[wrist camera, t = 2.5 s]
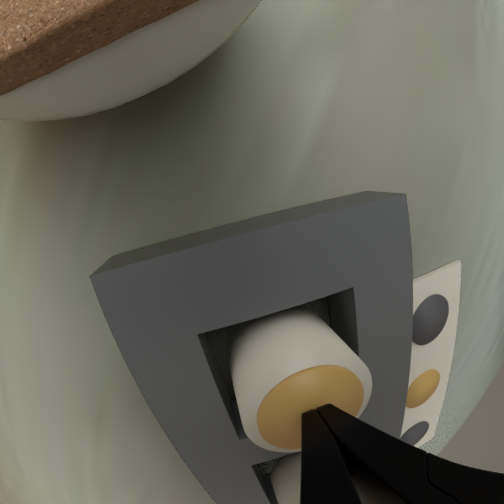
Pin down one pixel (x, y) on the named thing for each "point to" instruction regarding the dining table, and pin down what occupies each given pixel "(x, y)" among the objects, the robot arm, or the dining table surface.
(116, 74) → the lidded jar
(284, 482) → the button
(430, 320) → the card
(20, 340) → the dining table surface
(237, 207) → the dining table surface
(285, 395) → the button
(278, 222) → the board
